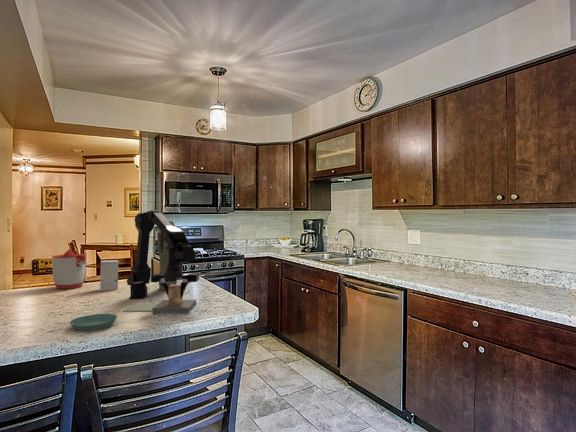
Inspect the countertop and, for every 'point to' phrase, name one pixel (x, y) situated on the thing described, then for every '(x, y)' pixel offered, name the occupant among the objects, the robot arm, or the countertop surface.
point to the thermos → (163, 255)
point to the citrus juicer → (69, 270)
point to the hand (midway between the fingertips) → (175, 298)
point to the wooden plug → (175, 294)
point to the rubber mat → (140, 308)
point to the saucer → (93, 322)
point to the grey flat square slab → (174, 307)
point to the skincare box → (109, 275)
